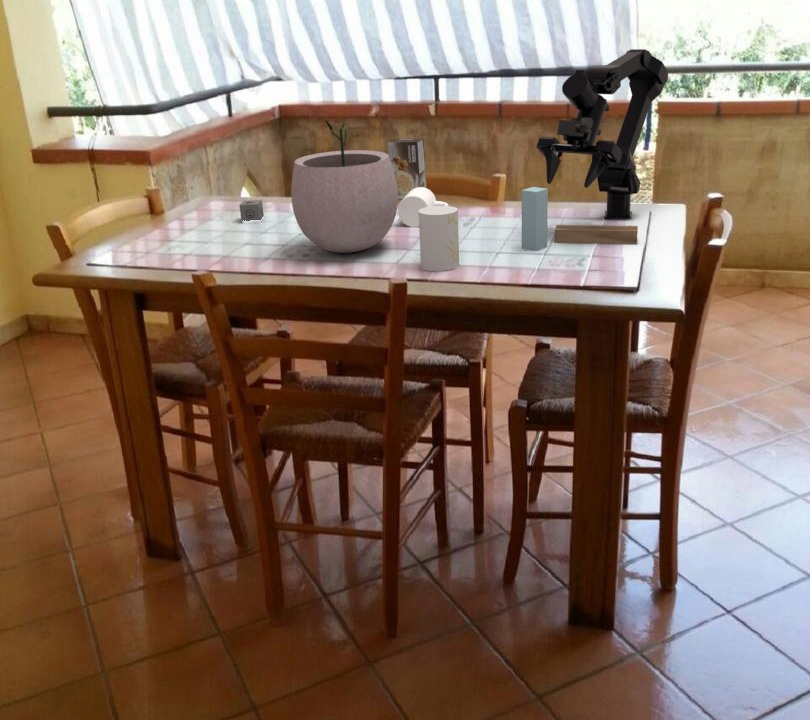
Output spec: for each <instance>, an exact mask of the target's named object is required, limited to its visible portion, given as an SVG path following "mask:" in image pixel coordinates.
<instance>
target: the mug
mask: <svg viewBox="0 0 810 720" xmlns="http://www.w3.org/2000/svg"><path fill="white" fill-rule="evenodd" d="M430 206H450V205H449V203H447V202H444V201H440V200H439V201H438V200H437V198H436V197H435V194H434V192H432V190H430V189H428V188H427V187H426V188H424V187H417V188H414V189H413V190H411V191H410V192H409V193H408V194H407V195H406V196H405V197H404V199H401V200H400V202H399V203H398V206H397V213H398V216H399V217H398V218H399V219H400V221H401V222H402V223H403V224H404V225H405V226H408V227H410V228H419V212H418V211H419V210H420V209H422V208H425V207H430Z"/></svg>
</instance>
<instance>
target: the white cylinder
mask: <svg viewBox="0 0 810 720" xmlns="http://www.w3.org/2000/svg"><path fill="white" fill-rule="evenodd" d="M418 212H419V227H418V228H419V229H418V230H419V231H418V232H419V247H420V248H419V252H420V254H419V255H420V268H421V269H422V270H424V271H426V270H429V271H428V272H432V271H443V272H447V271H446V270H450V271H452V270H451V269H454V270H456V269H458V268H460V245H459V244H460V243H459V242H460V241H459V238H460V237H459V210H458V208H457V207H455V206H452V205H449V206H430V207H425V208H422V209H420V210H419V211H418ZM457 267H458V268H457ZM455 268H456V269H455Z"/></svg>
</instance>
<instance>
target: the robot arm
mask: <svg viewBox="0 0 810 720" xmlns="http://www.w3.org/2000/svg"><path fill="white" fill-rule="evenodd" d="M626 78H627V79H628V81H629V82H628V85H629V88H630V92H631V97H630V100H629V104H628V106H627V109H626V112H625V116H624V118H623V121H622V124H621V127H620V131H619V133H618V136H617V140H616V142H615V141H614V140H602V139H601V140H597V141H596V139H597V137H598V136H601V133H602V130H601V129H600V126H601V123H602V120H603V117H604V115H605V112H609V111H610V106H609V104H608V101H607V99H606V98H604V96H602V95H610V96H611V95H614V94H615V93H616V92H617V91H618V90H619V89H620V88H621V82H622V81H623V80H625V79H626ZM668 78H669V71H668V69H667V68H666V66H665V64H664V63H663V61H662V60H661V59H658V58H657V57H655V56H653V55H652V53H651V52H650V51H649V50H648V49H645V48H644V49H643V48H642V49H639V48H638V49H637V48H636V49H635V48H634V49H633V48H632V49H629V50H627V51H626V52H625V53H624V54H623V55H621V56H619V57H618V58H616V59H614V60H612V61H611V62H609V63H608V64H603V65H595V66H590V67H588V68H587V69H586V70H585V69H576V70H575V72H574V73H573V74H572V75H570V76H569V77H567V78H566V80H565V81H564V82H563V84H562V86H561V91H562V94H563V95H564V97H565V99H567V100H568V102H569V103H570V104H571V105H572V107H573V109H576V110H577V112H576V116H575V117H572V118H571V119H569V120H567V119H566V120H565V119H559V120H558V123H557V131H556V135H557V136H563V137H562V139H563V140H564V142H567V143H561V142H560V141H559V140H558V139H557V138H556V137H553V136H541V137H539V138H538V139H537V141H536V145H535V148H536V149H537V150H538V151H539V152H540V153H541V154H542V156H543V157H544V158H545V162H546V183H547V184H548V185H551V184H552V182H553V181H554V178H555V176H556V174H557V172H558V169H559V168H560V167H559V166H560V164H561V162H562V160H561V159H560V158H561V157H562V156H563V154H576V155H578V154H579V155H589V156H590V155H591V163H590V165H589V169H588V170H587V174H586V177H585V179H584V183H583V186H584V188H586V189H587V188H589V187H590V186H591V185H592V183H594V181H595V180H597V185H598V191H599V192H601V193H602V192H604V193H606V210H605V211H604V216H603V218H604V220H605V219H609V220H613V219H614V220H615V219H616V220H617V219H618V220H619V219H620V220H624V219H625V220H631V219H632V215H633V214H632V213H633V211H632V210H631V201H632V200H631V199H632V198H631V197H632V195H634V194H638V193H639V191H640V189H641V181H640V179H639V177H638V175H637V173H636V170H637V166H636V162H635V158H634V155H635V152H636V149H637V145H638V143H639V140H640V136H641V133H642V130H643V127H644V126H645V125H644V124H645V121H646V119H647V115H648V113H649V110H650V108H651V104H652V103H653V102H654V101H655V100H656V99H657V98H658V97H659V96H660V95H661V94H662V92H663V90H664V87H665V85H666V84H667V83H668ZM595 142H596V143H595Z"/></svg>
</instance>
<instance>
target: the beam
mask: <svg viewBox="0 0 810 720" xmlns="http://www.w3.org/2000/svg"><path fill="white" fill-rule="evenodd" d="M638 227H639V226H638V225H608V224H607V225H605V224H604V225H603V224H602V225H600V224H599V225H597V224H596V225H595V224H590V225H589V224H587V225H586V224H556V225H555V228H554V235H553V236H554V239H553V240H554V241H553V242H554V244H592V243H612V244H611V245H637V243H638ZM613 243H614V244H613Z"/></svg>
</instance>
